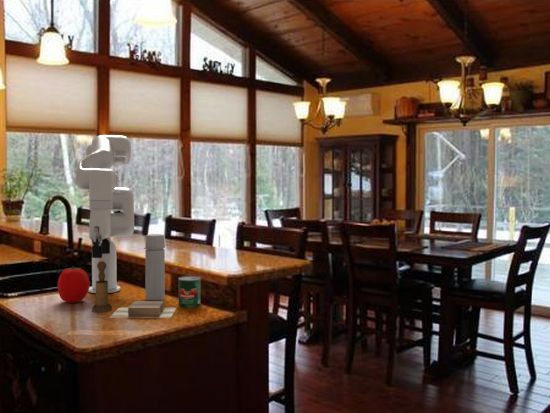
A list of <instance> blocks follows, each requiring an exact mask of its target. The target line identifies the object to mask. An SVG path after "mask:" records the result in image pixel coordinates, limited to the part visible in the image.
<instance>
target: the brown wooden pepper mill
mask: <svg viewBox="0 0 550 413" xmlns="http://www.w3.org/2000/svg"><path fill="white" fill-rule="evenodd" d="M97 268H98V270H99V275H98V277H99V281H96V293H95V304H94V305H93V306H92V307H91V312H93V313H99V314H100V313H101V314H102V313H107V312H111V311H112V310H113V307H112V306H113V305H110V304H109V303H108V302H109V300H108V299H109V293H108V281H105V280H104V278H105V274H104V270H105V268H106V263H105V262H104V261H101V262H98V264H97Z"/></svg>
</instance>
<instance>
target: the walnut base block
mask: <svg viewBox="0 0 550 413" xmlns="http://www.w3.org/2000/svg"><path fill="white" fill-rule="evenodd" d="M128 307H129V308H128V317H159V316H160V315H161V313H162V312H163V310H164V307H165V300H134V301H133V302H132V303H131V304H130V306H128Z"/></svg>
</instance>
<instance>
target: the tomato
mask: <svg viewBox="0 0 550 413" xmlns="http://www.w3.org/2000/svg"><path fill="white" fill-rule="evenodd" d="M90 282H91V281H90V276H89V275H88V273H87V271H85V270H84V269H82V266H81V267H75V266H72V267H69V268H65V269H64V270H62V272H61V273H60V275H59V277H58V280H57V291H58V295H59V297H60V299H61V300H62V301H63V302H66V303H71V304H74V303H78V302H81V301H82V300H84V299H85V298H86V297H87V295H88V293H89V291H88V290H89V288H90V287H91V286H90V285H91V283H90Z"/></svg>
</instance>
